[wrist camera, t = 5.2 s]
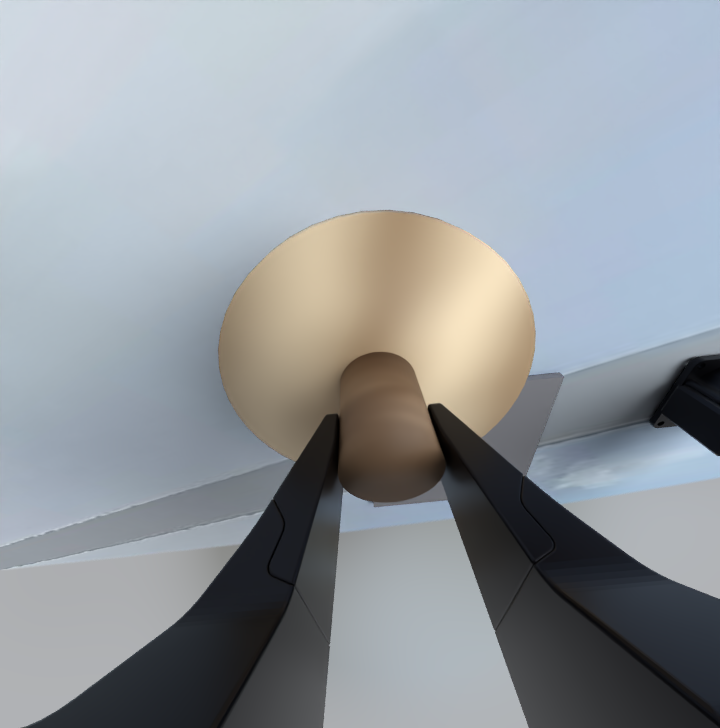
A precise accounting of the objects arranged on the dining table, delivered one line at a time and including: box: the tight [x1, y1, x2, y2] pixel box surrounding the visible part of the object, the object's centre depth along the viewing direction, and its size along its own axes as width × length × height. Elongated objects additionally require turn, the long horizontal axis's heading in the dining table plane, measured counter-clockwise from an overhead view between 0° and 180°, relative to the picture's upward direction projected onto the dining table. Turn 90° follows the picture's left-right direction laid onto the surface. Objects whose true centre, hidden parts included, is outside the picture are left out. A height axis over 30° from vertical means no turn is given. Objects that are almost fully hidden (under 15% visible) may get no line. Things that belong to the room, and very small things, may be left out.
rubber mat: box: [373, 373, 564, 507], centre depth 24 cm, size 14×14×1 cm
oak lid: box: [218, 210, 535, 503], centre depth 10 cm, size 12×12×5 cm
